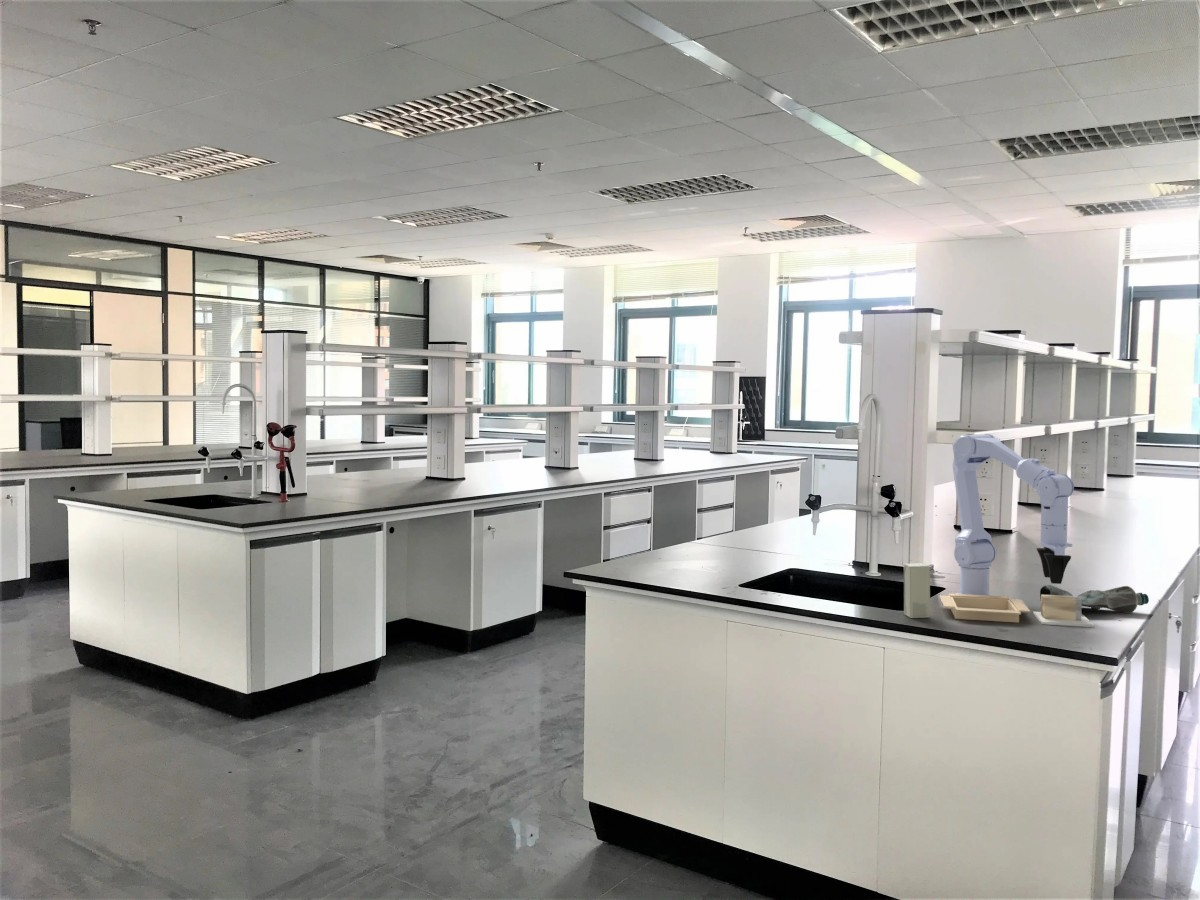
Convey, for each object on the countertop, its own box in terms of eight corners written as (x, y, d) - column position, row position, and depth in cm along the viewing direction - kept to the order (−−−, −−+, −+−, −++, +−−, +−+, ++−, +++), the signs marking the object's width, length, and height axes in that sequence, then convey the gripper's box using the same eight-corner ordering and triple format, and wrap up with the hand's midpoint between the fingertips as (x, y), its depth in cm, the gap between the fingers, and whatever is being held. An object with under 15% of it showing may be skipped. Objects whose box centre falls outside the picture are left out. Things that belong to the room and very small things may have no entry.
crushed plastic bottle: (1050, 616, 218) (1160, 617, 214) (1049, 587, 218) (1159, 588, 214) (1032, 609, 231) (1136, 610, 227) (1031, 581, 231) (1135, 581, 227)
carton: (938, 603, 232) (938, 592, 232) (1018, 607, 227) (1018, 597, 227) (945, 620, 214) (945, 608, 214) (1032, 625, 209) (1032, 613, 208)
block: (1040, 614, 217) (1041, 594, 216) (1077, 616, 215) (1077, 596, 214) (1044, 618, 213) (1044, 597, 213) (1081, 620, 211) (1081, 599, 210)
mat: (1033, 613, 220) (1033, 611, 220) (1082, 616, 217) (1082, 614, 217) (1041, 624, 210) (1042, 621, 210) (1093, 627, 207) (1093, 624, 207)
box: (923, 614, 220) (924, 562, 220) (930, 618, 216) (931, 565, 215) (902, 614, 220) (903, 562, 220) (909, 618, 216) (909, 566, 215)
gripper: (1079, 529, 207) (1078, 587, 207) (1065, 521, 221) (1064, 575, 221) (1046, 528, 209) (1044, 585, 209) (1034, 520, 223) (1033, 574, 223)
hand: (1052, 580), depth 215 cm, fingers open, 7 cm apart
